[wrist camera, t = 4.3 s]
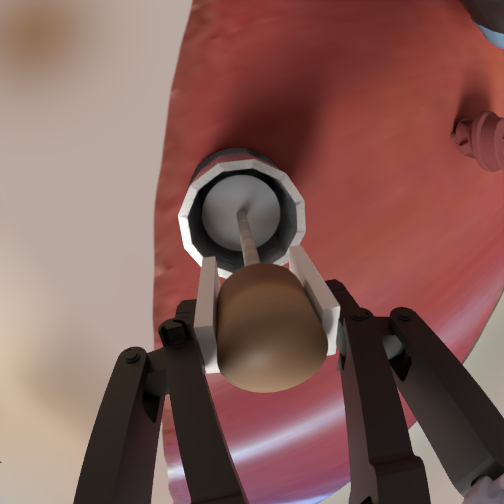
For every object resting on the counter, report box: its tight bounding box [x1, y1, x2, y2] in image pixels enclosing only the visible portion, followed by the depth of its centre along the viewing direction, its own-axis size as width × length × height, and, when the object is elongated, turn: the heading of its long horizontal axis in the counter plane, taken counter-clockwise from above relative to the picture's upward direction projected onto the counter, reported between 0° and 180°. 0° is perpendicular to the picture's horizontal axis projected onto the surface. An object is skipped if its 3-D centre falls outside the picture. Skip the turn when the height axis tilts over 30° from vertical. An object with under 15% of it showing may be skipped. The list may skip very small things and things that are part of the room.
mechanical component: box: [451, 111, 504, 172], centre depth 30 cm, size 12×10×10 cm
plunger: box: [202, 175, 328, 392], centre depth 20 cm, size 8×8×21 cm
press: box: [178, 148, 306, 279], centre depth 32 cm, size 16×13×12 cm
